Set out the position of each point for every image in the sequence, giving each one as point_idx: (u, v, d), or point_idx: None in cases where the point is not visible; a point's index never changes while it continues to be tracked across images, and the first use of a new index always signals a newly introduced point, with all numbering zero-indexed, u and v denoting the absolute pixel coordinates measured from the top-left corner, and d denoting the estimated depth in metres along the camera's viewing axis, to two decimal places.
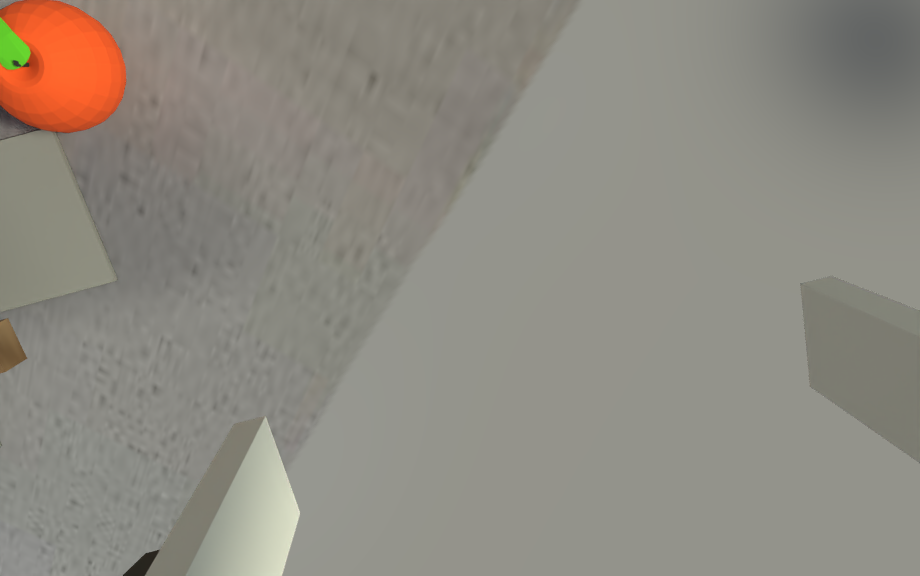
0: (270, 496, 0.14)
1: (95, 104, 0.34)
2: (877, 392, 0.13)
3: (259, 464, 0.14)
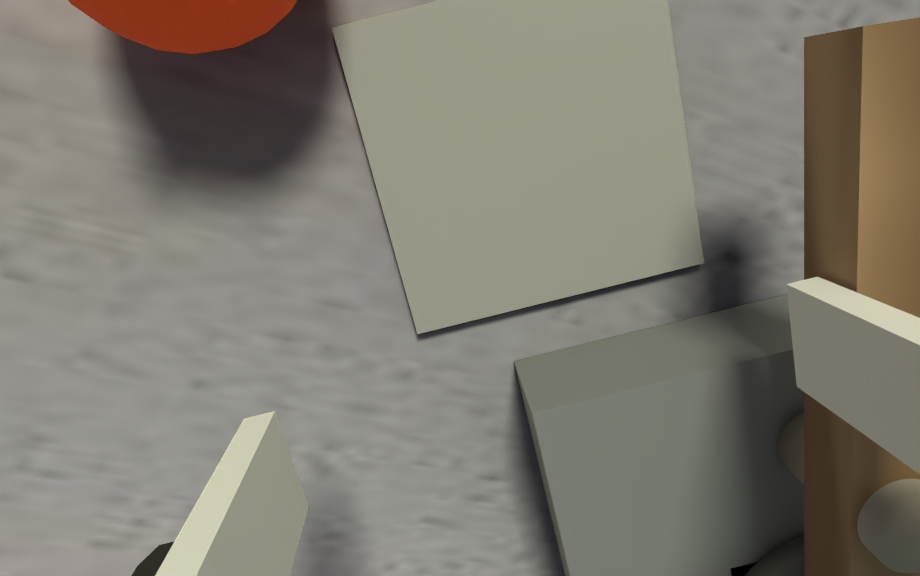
0: (280, 490, 0.14)
1: None
2: (861, 392, 0.13)
3: (269, 458, 0.14)
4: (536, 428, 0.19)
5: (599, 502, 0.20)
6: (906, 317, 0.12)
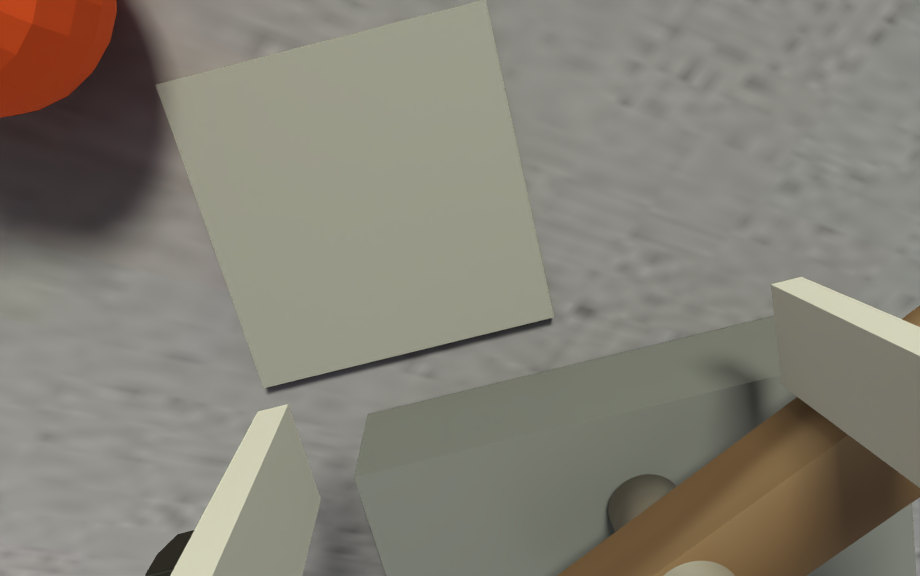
0: (294, 481, 0.14)
1: None
2: (842, 390, 0.13)
3: (283, 450, 0.14)
4: (360, 492, 0.19)
5: (431, 566, 0.19)
6: (885, 317, 0.12)
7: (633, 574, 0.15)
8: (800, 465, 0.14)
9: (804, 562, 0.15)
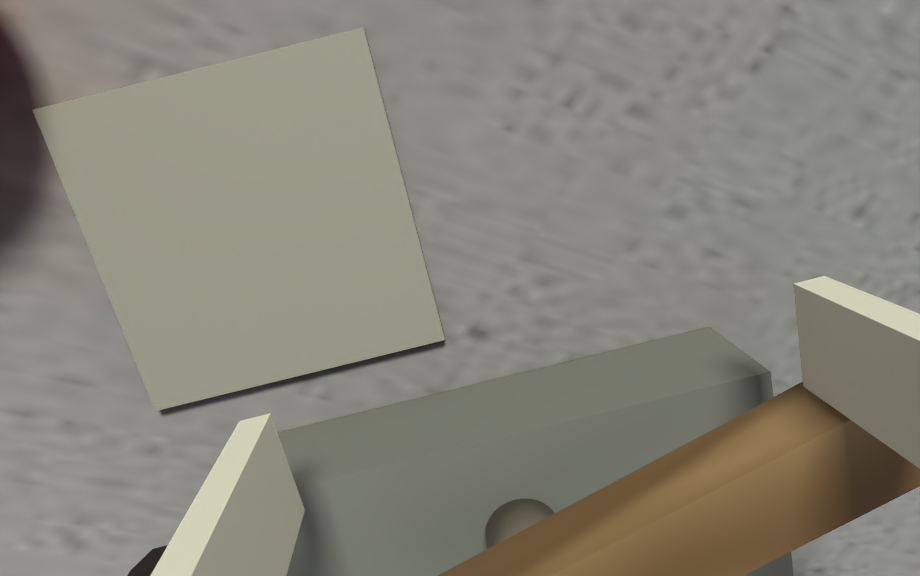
0: (276, 493, 0.14)
1: None
2: (869, 392, 0.13)
3: (264, 462, 0.14)
4: None
5: None
6: (915, 317, 0.12)
7: None
8: (666, 512, 0.15)
9: None
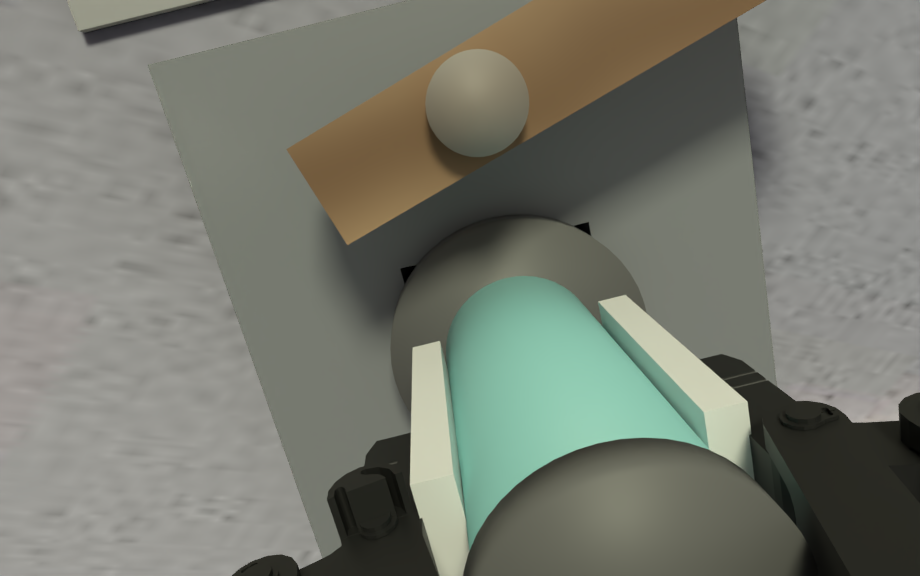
0: None
1: None
2: None
3: (446, 377, 0.16)
4: (156, 85, 0.17)
5: (241, 181, 0.18)
6: (662, 334, 0.14)
7: None
8: None
9: (594, 82, 0.14)
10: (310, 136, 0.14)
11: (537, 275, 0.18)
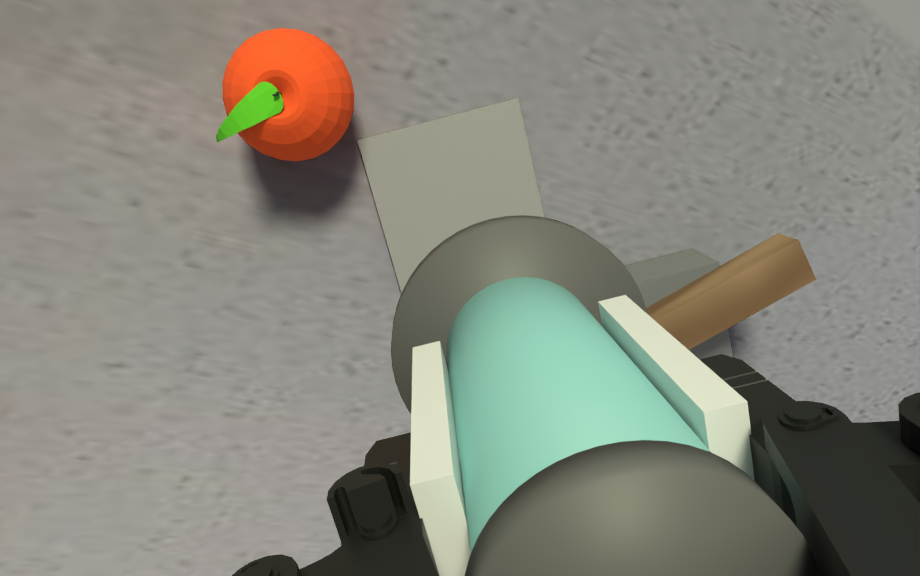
0: None
1: (320, 46, 0.33)
2: None
3: (446, 377, 0.16)
4: None
5: None
6: (662, 334, 0.14)
7: None
8: (668, 312, 0.34)
9: None
10: None
11: (538, 276, 0.18)
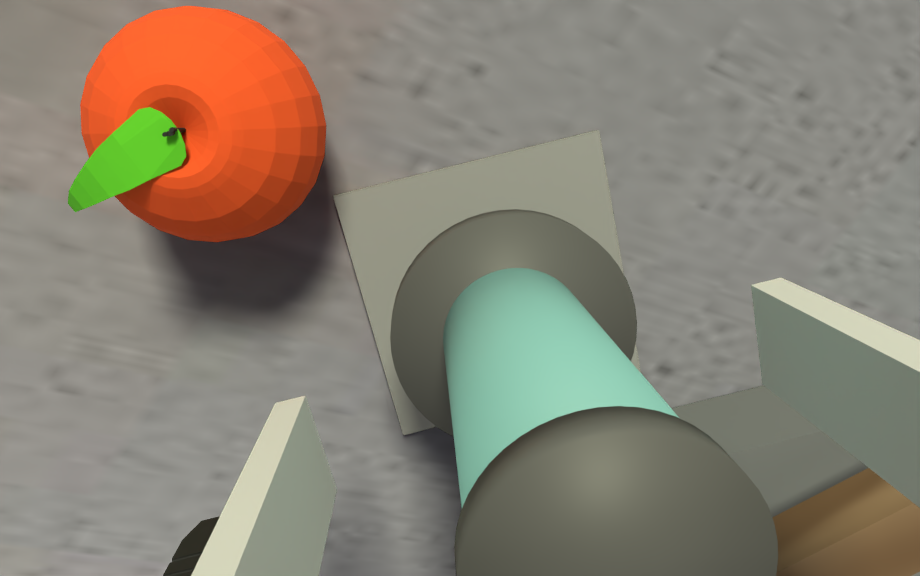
0: (312, 471, 0.15)
1: (261, 40, 0.18)
2: (817, 389, 0.14)
3: (302, 440, 0.14)
4: None
5: None
6: (858, 317, 0.13)
7: None
8: (876, 519, 0.19)
9: None
10: None
11: (530, 267, 0.19)
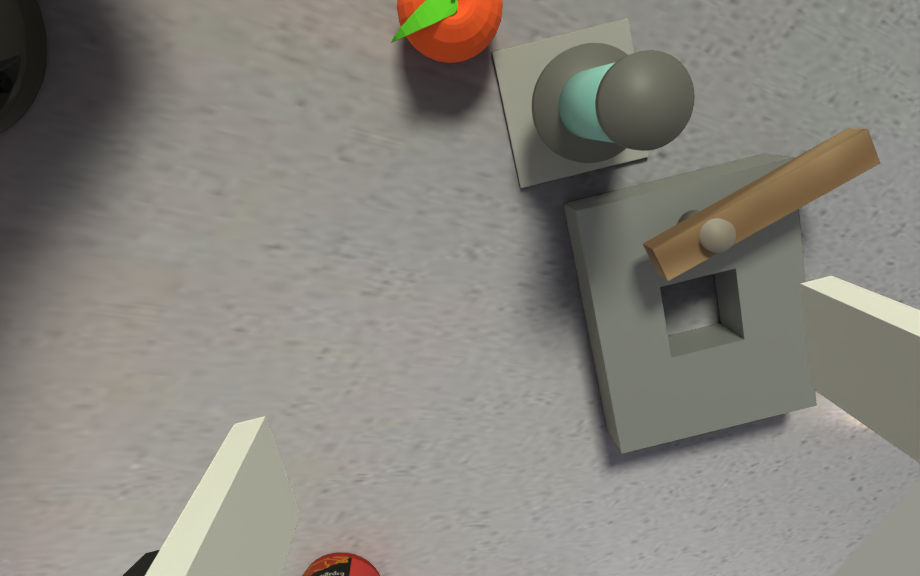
0: (270, 496, 0.14)
1: None
2: (877, 392, 0.13)
3: (259, 465, 0.14)
4: (577, 218, 0.46)
5: (603, 253, 0.46)
6: None
7: (695, 223, 0.42)
8: (760, 188, 0.42)
9: (754, 227, 0.42)
10: (661, 245, 0.42)
11: None
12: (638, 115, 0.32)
